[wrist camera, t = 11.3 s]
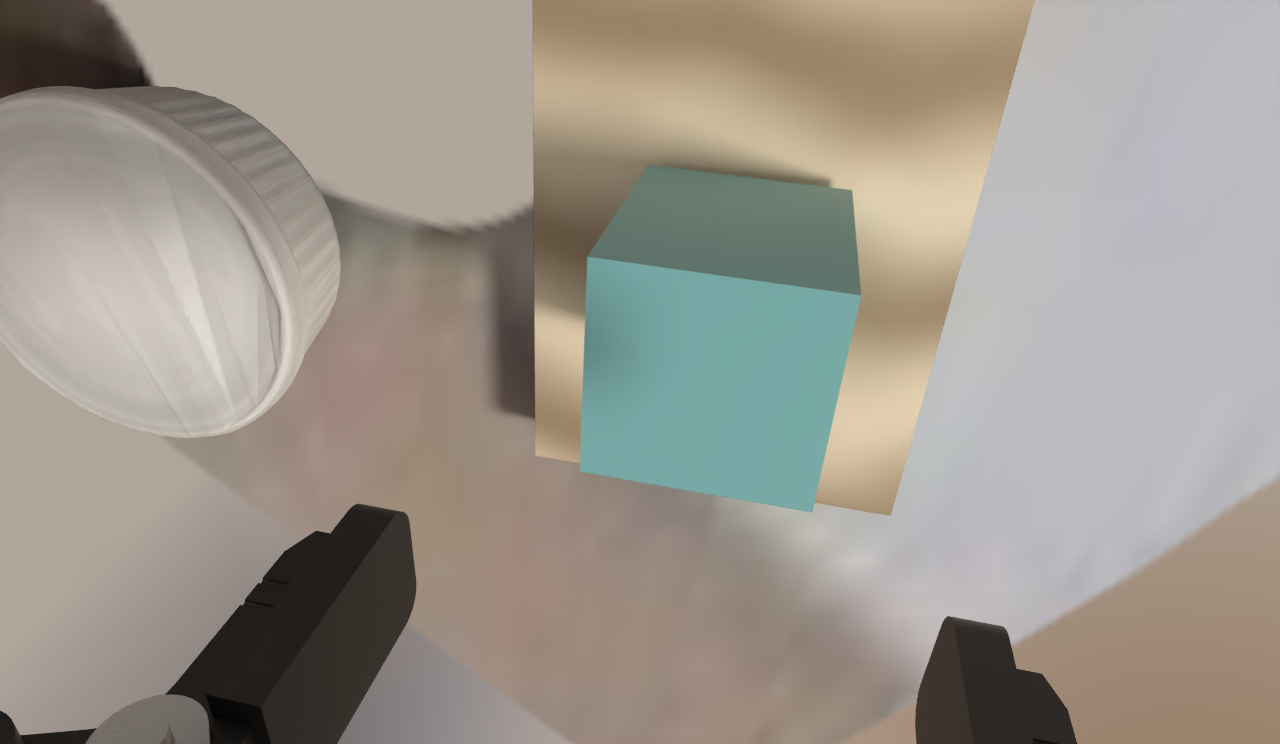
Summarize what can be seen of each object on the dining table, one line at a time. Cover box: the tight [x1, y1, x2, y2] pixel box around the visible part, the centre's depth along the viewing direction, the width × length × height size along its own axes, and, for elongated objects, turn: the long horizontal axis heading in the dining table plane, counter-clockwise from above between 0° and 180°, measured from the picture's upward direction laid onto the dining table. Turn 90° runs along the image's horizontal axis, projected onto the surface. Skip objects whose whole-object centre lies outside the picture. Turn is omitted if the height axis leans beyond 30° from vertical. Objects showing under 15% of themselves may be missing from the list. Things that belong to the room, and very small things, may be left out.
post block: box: [533, 0, 1035, 515], centre depth 22 cm, size 16×12×8 cm
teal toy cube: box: [580, 165, 861, 512], centre depth 20 cm, size 5×5×7 cm
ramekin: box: [0, 86, 341, 438], centre depth 27 cm, size 11×11×5 cm
